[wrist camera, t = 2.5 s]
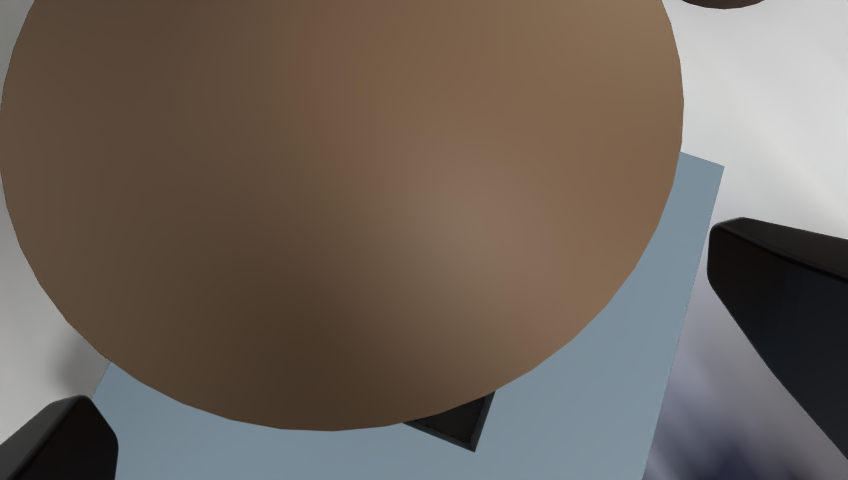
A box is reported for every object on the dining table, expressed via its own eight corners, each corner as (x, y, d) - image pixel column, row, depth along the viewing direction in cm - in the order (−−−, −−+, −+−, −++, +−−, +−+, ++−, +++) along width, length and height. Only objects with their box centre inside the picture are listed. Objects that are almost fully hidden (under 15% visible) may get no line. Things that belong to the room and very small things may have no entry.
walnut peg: (461, 425, 17) (565, 564, 3) (309, 365, 17) (-143, 266, 4) (514, 273, 18) (751, -93, 4) (371, 221, 18) (192, -244, 5)
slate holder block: (560, 651, 15) (583, 700, 13) (112, 453, 17) (58, 463, 14) (686, 195, 18) (724, 166, 16) (303, 67, 20) (285, 23, 18)
